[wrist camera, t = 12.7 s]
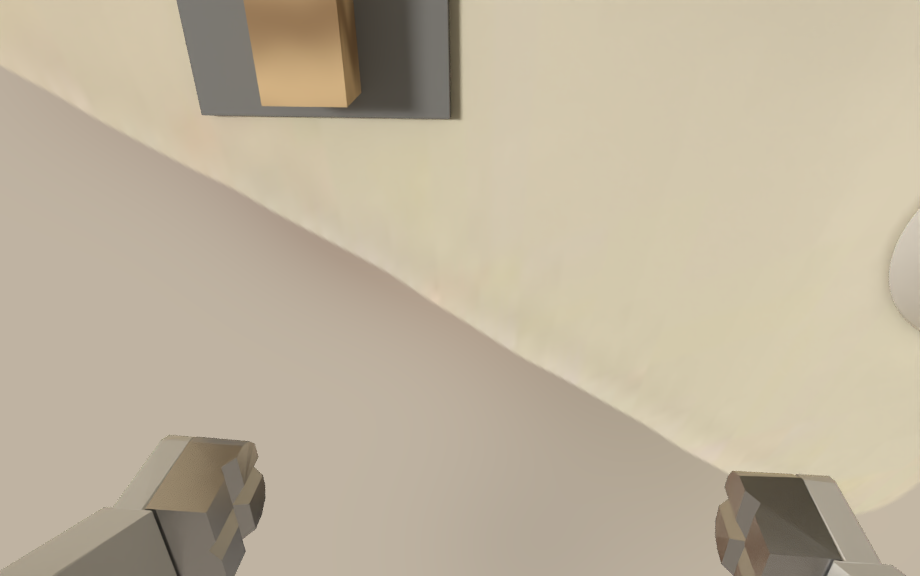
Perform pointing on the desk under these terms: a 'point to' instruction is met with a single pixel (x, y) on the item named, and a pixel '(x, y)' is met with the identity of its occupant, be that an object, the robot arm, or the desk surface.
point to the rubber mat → (379, 53)
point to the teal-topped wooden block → (304, 52)
